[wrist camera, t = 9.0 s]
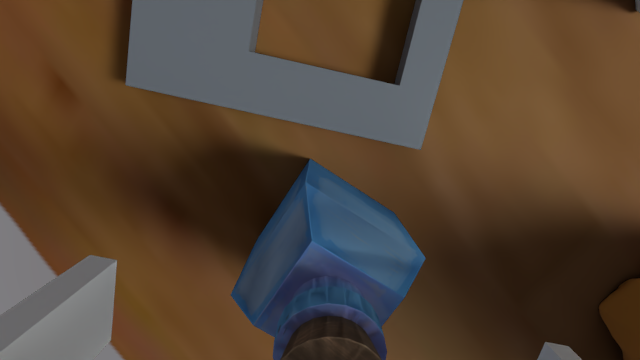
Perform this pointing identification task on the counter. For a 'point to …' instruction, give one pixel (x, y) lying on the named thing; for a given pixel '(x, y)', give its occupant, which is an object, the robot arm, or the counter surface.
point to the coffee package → (624, 317)
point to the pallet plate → (286, 68)
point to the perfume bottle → (327, 271)
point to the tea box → (637, 5)
